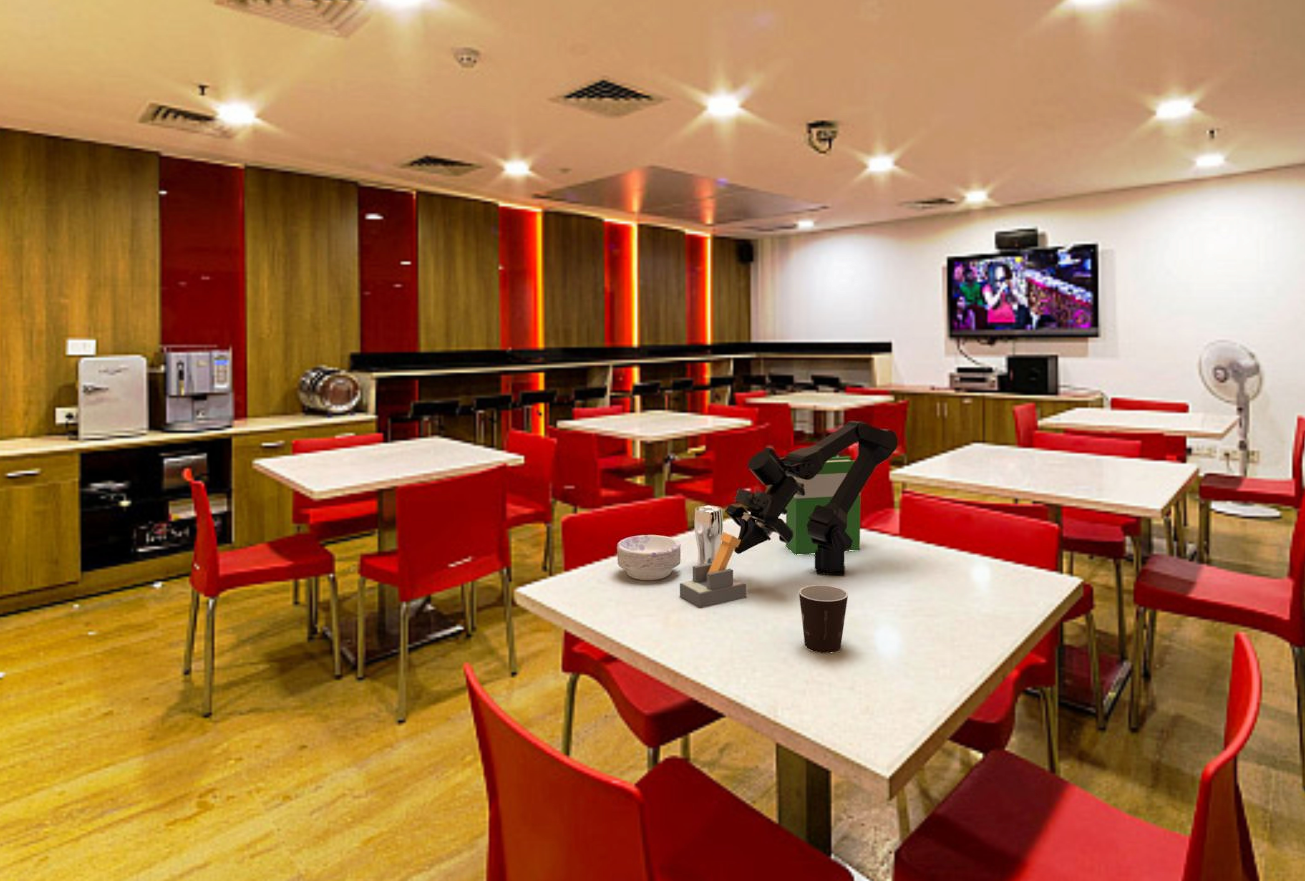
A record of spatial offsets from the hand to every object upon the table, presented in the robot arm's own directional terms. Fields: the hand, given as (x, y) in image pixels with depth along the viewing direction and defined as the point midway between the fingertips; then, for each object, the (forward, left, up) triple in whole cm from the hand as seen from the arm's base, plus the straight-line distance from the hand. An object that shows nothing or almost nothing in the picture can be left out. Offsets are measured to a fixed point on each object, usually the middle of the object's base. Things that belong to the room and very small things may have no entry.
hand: (736, 552), depth 160 cm
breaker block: (+4, +4, -9) cm, 11 cm away
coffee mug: (-20, +26, -9) cm, 34 cm away
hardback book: (-17, -39, -9) cm, 43 cm away
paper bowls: (+22, -8, -9) cm, 25 cm away
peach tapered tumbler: (+9, -16, -9) cm, 20 cm away
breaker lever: (+4, +4, -5) cm, 8 cm away
